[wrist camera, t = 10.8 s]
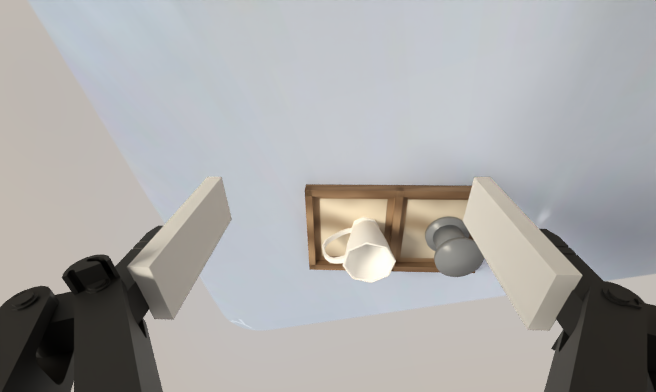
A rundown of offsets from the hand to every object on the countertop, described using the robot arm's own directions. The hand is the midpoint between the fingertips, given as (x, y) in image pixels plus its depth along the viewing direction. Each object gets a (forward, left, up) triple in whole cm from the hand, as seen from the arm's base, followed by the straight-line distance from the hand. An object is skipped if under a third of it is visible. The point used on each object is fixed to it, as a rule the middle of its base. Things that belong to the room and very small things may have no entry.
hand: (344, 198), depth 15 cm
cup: (+19, +2, -24) cm, 31 cm away
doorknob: (+20, +16, -24) cm, 35 cm away
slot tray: (+19, +8, -25) cm, 32 cm away
